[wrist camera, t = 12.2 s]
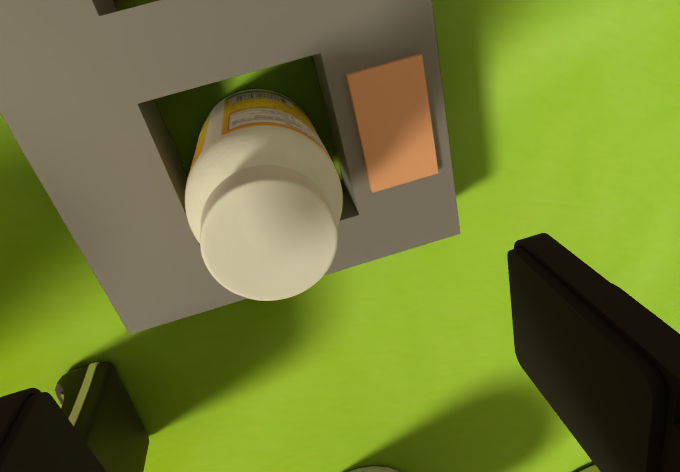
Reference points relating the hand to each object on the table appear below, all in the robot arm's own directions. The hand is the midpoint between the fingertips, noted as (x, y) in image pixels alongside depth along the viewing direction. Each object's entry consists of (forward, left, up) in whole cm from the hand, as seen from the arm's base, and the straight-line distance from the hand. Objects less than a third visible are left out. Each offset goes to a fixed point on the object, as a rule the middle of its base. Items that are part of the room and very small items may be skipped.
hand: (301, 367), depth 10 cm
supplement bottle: (0, 0, -15) cm, 15 cm away
